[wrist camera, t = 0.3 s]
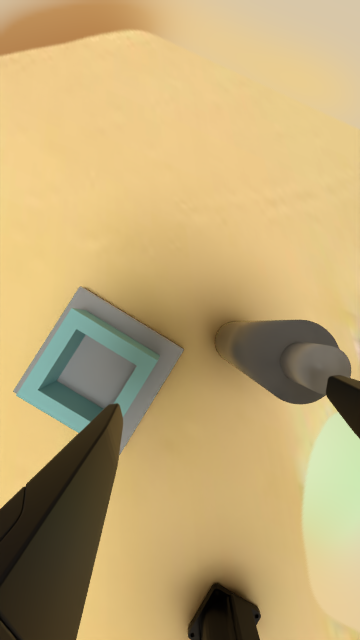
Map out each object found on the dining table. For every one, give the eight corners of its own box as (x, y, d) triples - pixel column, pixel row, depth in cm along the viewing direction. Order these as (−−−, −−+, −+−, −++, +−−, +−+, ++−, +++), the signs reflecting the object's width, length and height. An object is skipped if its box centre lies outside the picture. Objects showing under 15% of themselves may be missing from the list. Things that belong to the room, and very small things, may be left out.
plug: (242, 370, 23) (344, 441, 9) (207, 348, 23) (257, 387, 9) (262, 335, 23) (394, 353, 9) (228, 313, 23) (310, 299, 9)
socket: (122, 449, 23) (110, 476, 19) (20, 388, 22) (-14, 402, 18) (183, 348, 23) (185, 354, 19) (84, 287, 23) (65, 280, 19)
